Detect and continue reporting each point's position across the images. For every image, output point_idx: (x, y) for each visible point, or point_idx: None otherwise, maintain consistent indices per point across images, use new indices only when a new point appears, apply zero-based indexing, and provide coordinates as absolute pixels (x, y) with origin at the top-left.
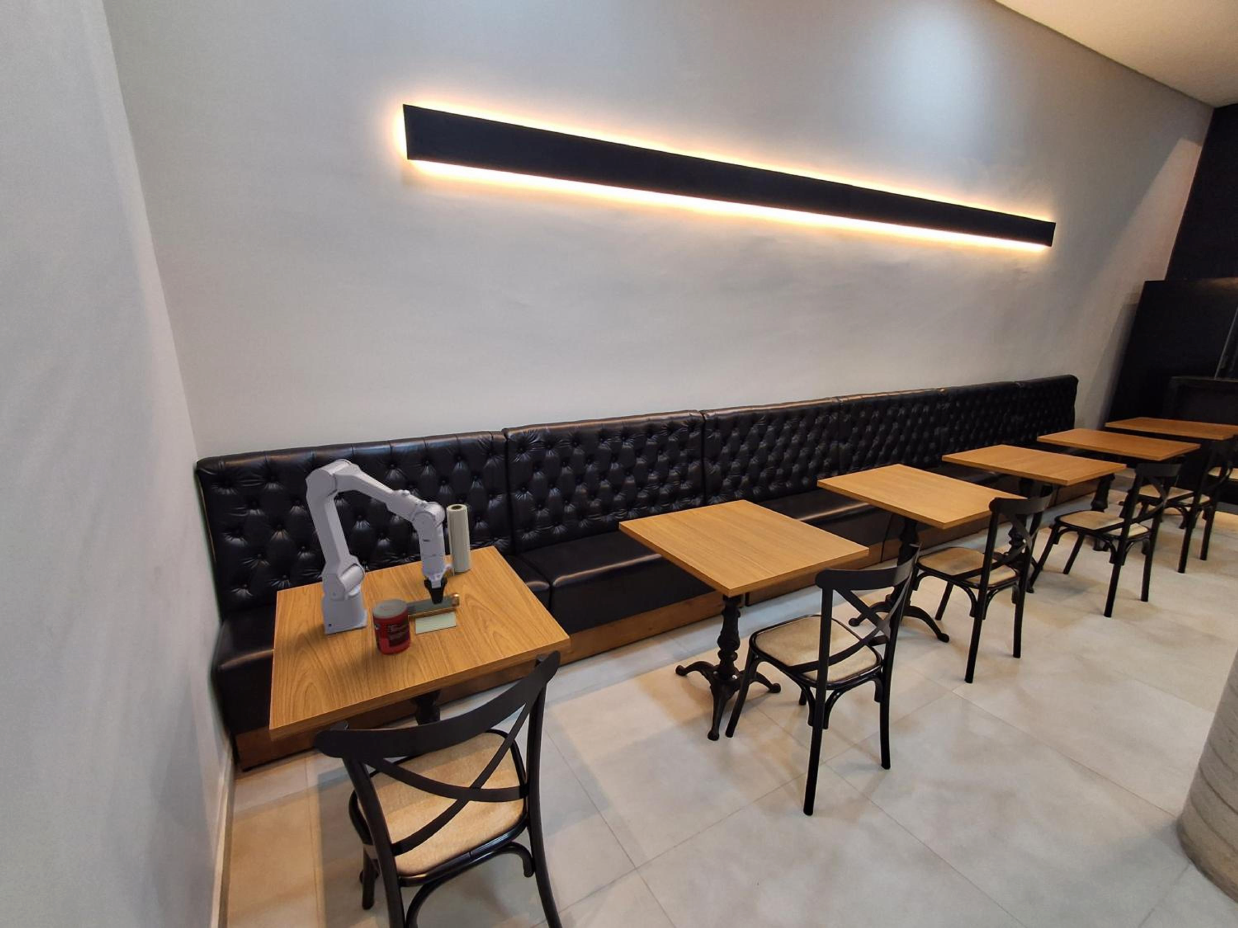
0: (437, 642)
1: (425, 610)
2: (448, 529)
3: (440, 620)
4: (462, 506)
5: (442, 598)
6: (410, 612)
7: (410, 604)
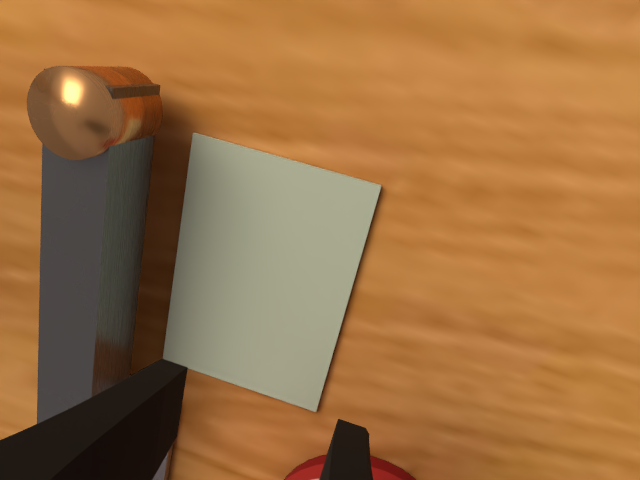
0: (486, 353)
1: (129, 314)
2: None
3: (254, 250)
4: None
5: (370, 473)
6: None
7: None
